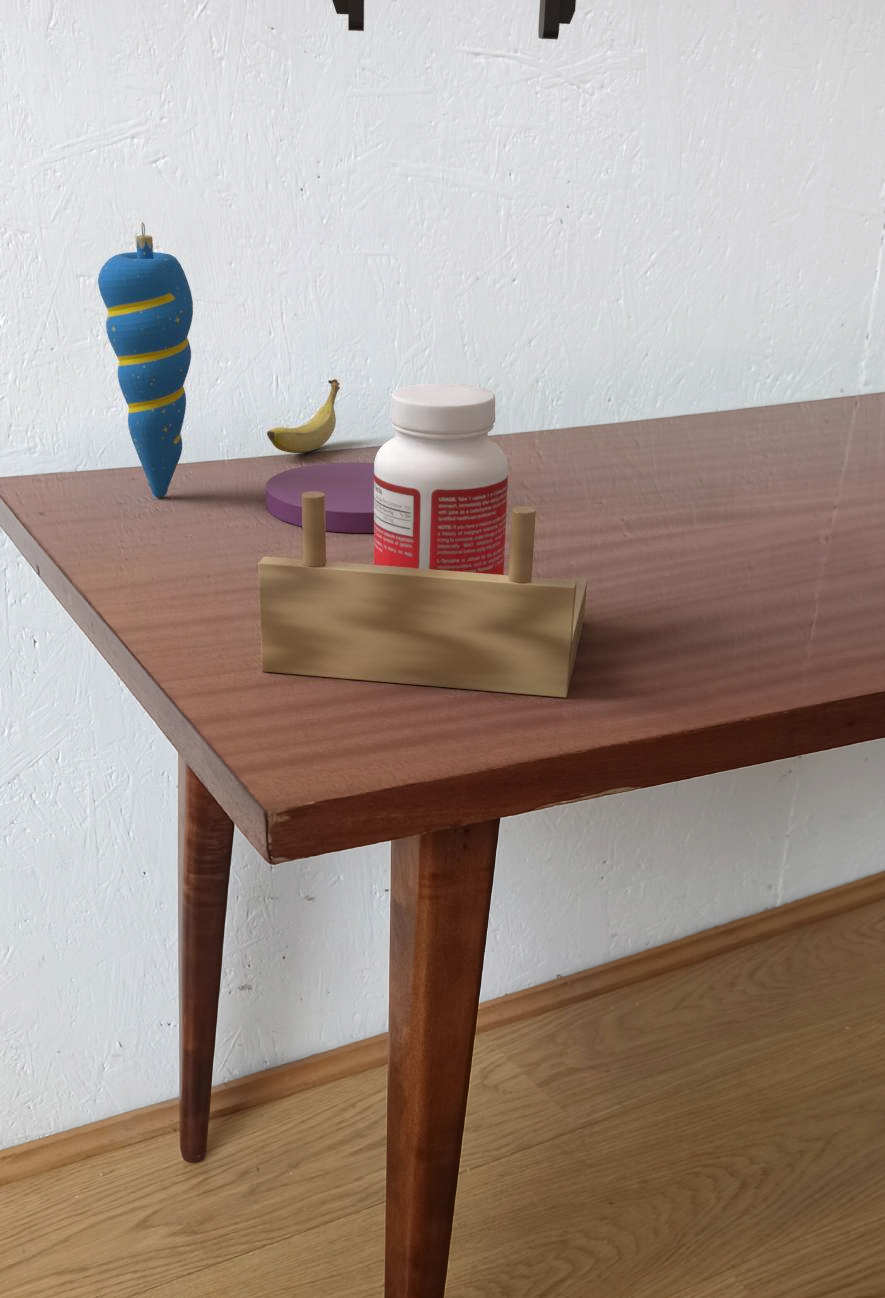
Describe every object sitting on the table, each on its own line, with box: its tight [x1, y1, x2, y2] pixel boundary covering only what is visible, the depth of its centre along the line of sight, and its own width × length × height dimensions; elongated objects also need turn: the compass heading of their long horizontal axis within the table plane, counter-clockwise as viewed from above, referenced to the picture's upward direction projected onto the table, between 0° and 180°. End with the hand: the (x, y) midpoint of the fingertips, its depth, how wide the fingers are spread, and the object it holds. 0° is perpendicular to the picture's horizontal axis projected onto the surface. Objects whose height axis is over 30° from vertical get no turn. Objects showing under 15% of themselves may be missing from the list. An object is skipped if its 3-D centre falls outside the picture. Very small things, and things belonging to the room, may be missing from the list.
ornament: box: [97, 222, 194, 499], centre depth 88 cm, size 5×5×15 cm
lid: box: [265, 461, 374, 534], centre depth 91 cm, size 11×11×1 cm
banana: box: [266, 378, 341, 454], centre depth 101 cm, size 8×2×4 cm, turn 153°
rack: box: [257, 491, 588, 699], centre depth 70 cm, size 14×10×8 cm
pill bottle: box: [373, 383, 509, 575], centre depth 71 cm, size 6×6×11 cm
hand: (452, 34), depth 68 cm, fingers open, 8 cm apart
